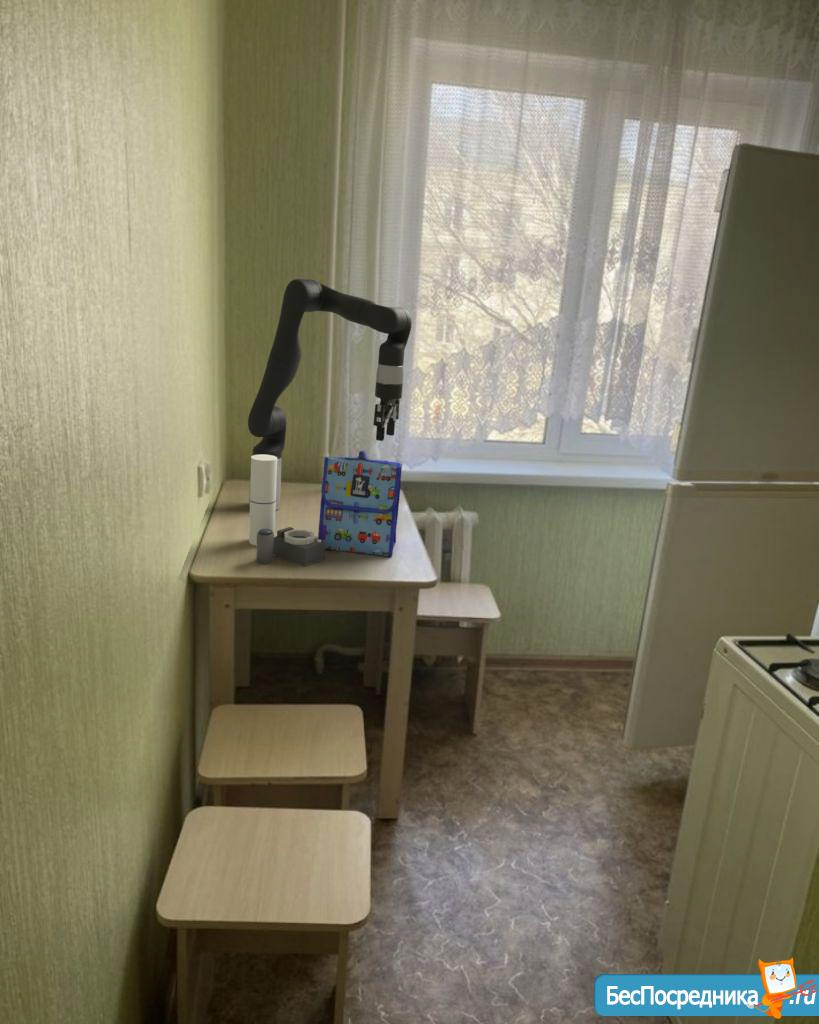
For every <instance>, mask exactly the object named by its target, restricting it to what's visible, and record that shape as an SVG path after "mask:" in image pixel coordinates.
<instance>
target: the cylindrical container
mask: <svg viewBox="0 0 819 1024" xmlns="http://www.w3.org/2000/svg"><path fill="white" fill-rule="evenodd" d="M250 478H251V483H250V482H249V489H250V506H249V526H248V528H249V531H248V536H249V537H248V539H249V540H248V543H249V544H250V545H252V546H255V545H256V546H255V547H257V532H258V531H259V530H260V529H270V530H272V531H273V532H274V537H276V536H275V532H276V511H275V508H276V479H277V457H276V456H272V455H265V454H259V455H253V454H252V455H251V457H250Z"/></svg>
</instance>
